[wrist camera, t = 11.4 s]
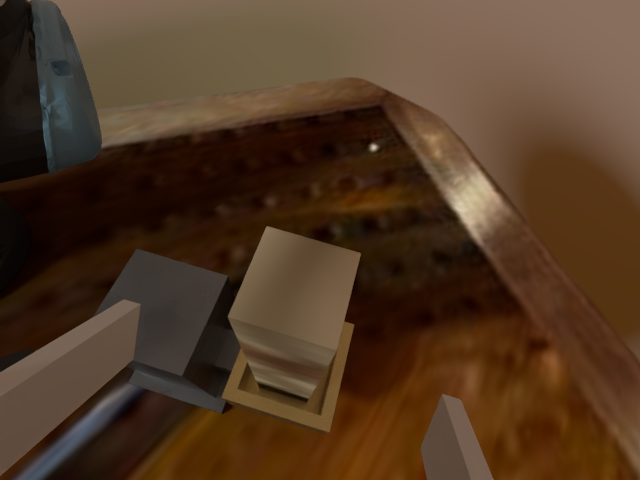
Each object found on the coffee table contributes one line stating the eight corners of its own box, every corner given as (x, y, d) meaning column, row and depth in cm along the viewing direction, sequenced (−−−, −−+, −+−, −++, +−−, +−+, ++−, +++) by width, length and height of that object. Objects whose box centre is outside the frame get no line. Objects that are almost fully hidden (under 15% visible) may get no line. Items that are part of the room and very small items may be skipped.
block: (258, 387, 28) (227, 316, 12) (275, 338, 30) (266, 226, 14) (306, 402, 28) (336, 350, 12) (320, 352, 30) (361, 253, 14)
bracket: (131, 384, 32) (51, 353, 21) (177, 297, 37) (131, 233, 26) (314, 443, 31) (332, 444, 20) (338, 346, 36) (363, 302, 25)
